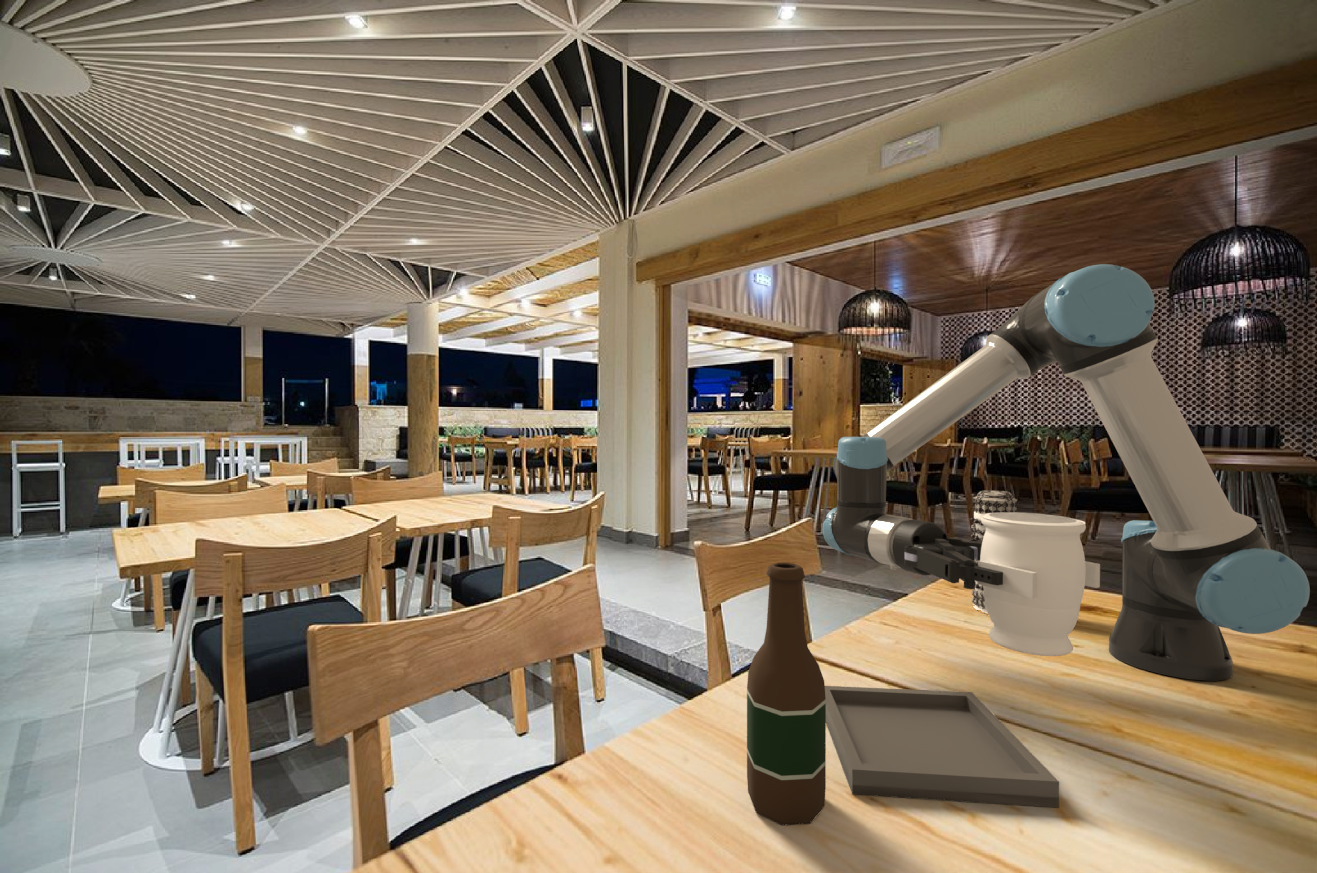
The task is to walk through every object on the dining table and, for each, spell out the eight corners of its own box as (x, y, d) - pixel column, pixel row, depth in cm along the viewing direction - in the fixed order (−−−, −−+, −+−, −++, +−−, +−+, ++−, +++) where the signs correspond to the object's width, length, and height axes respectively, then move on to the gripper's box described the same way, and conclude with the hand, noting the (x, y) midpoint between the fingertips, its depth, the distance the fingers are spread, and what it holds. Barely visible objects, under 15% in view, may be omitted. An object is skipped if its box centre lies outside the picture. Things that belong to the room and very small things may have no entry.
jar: (1043, 667, 62) (1045, 526, 62) (959, 636, 71) (960, 513, 71) (1105, 653, 66) (1107, 521, 66) (1017, 625, 75) (1019, 509, 75)
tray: (971, 711, 78) (971, 692, 78) (1058, 807, 58) (1058, 781, 58) (819, 704, 80) (819, 685, 80) (852, 794, 60) (852, 769, 60)
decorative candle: (1020, 620, 116) (1021, 494, 115) (967, 612, 121) (968, 492, 121) (1021, 608, 123) (1022, 491, 123) (972, 601, 128) (972, 488, 128)
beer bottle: (779, 839, 53) (780, 578, 53) (731, 792, 60) (731, 561, 60) (842, 813, 57) (842, 569, 57) (790, 772, 64) (790, 554, 64)
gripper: (963, 563, 90) (1127, 602, 69) (847, 577, 80) (997, 627, 60) (964, 514, 90) (1128, 539, 69) (847, 523, 80) (998, 555, 60)
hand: (1067, 580), depth 65 cm, fingers closed on jar, 10 cm apart
